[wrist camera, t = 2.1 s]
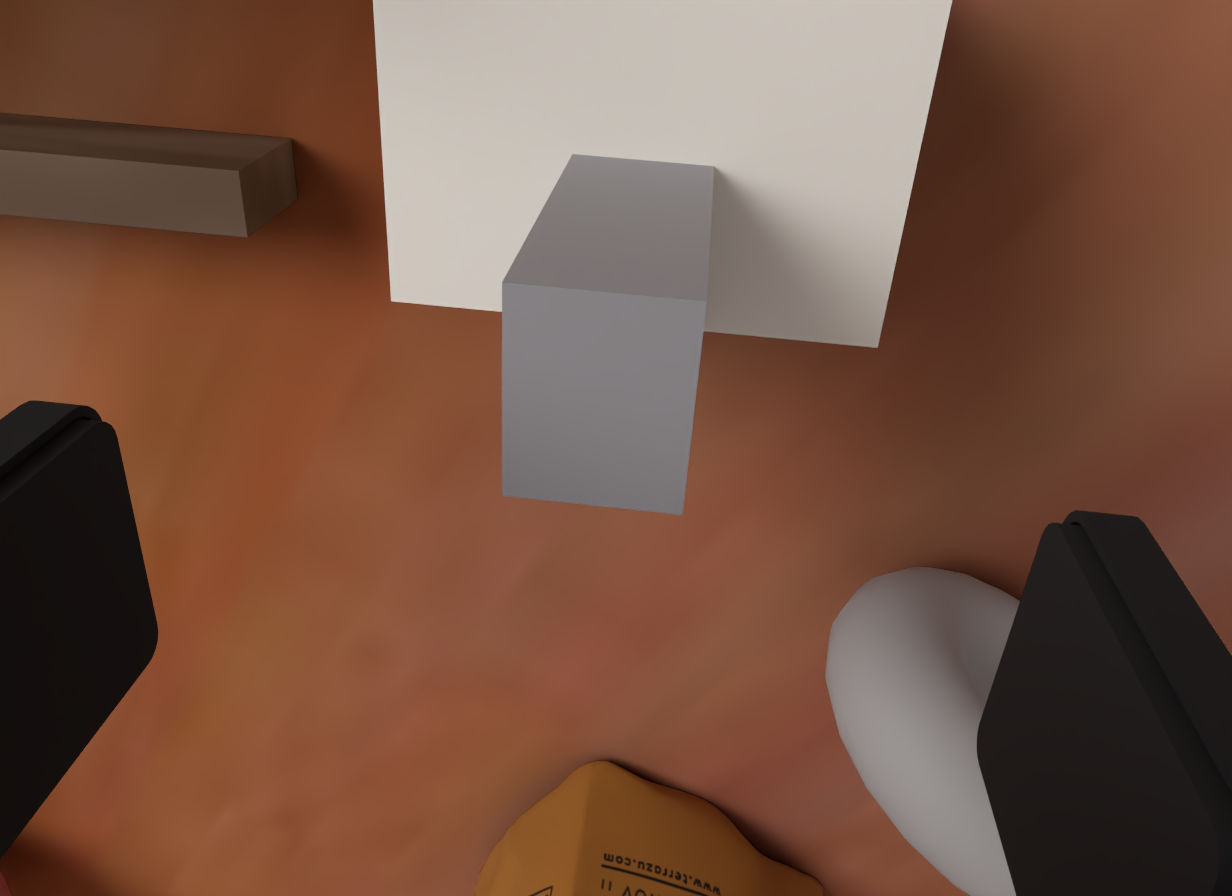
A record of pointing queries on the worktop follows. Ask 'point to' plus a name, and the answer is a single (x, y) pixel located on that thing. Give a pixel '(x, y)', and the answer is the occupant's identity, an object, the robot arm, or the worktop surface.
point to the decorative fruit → (4, 886)
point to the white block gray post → (645, 200)
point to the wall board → (143, 175)
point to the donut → (924, 711)
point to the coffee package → (630, 845)
